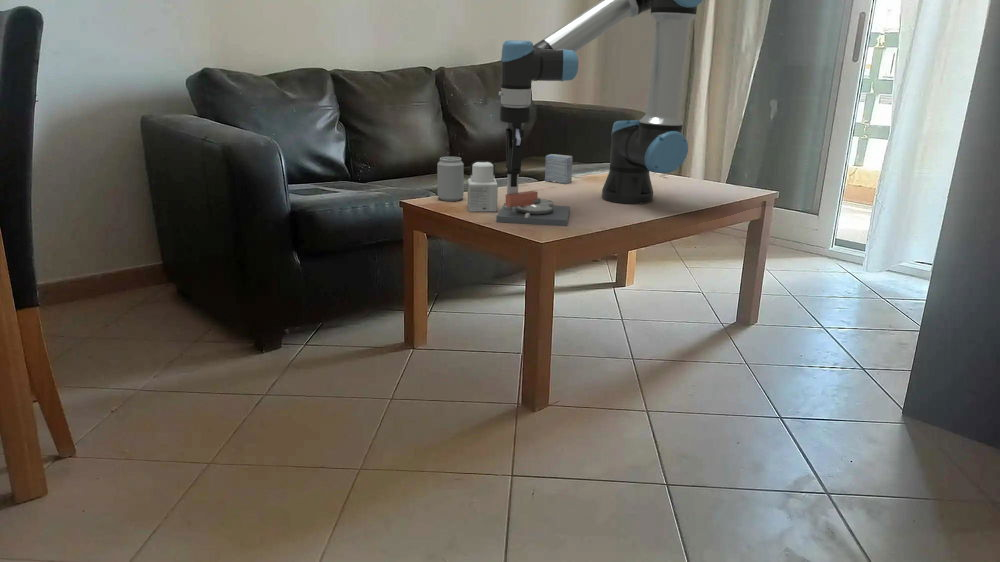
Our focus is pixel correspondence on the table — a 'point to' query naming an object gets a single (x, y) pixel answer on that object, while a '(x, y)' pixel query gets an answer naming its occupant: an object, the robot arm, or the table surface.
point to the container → (482, 187)
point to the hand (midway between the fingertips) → (512, 198)
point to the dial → (529, 203)
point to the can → (450, 178)
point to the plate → (534, 216)
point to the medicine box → (558, 168)
